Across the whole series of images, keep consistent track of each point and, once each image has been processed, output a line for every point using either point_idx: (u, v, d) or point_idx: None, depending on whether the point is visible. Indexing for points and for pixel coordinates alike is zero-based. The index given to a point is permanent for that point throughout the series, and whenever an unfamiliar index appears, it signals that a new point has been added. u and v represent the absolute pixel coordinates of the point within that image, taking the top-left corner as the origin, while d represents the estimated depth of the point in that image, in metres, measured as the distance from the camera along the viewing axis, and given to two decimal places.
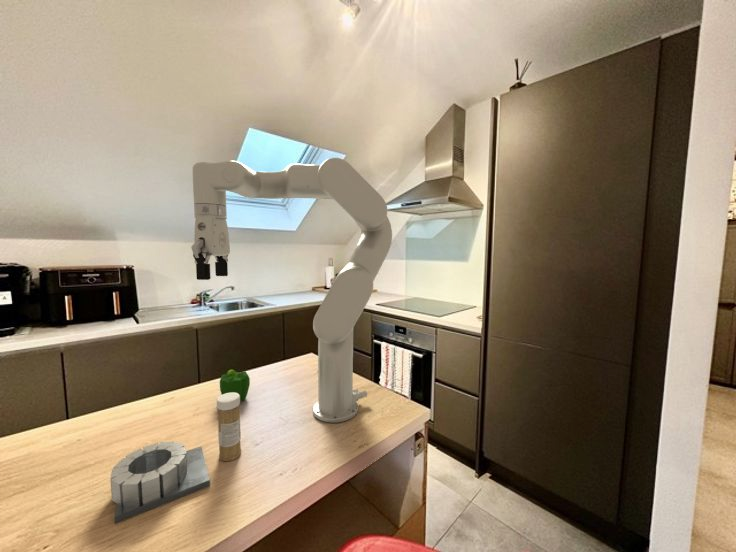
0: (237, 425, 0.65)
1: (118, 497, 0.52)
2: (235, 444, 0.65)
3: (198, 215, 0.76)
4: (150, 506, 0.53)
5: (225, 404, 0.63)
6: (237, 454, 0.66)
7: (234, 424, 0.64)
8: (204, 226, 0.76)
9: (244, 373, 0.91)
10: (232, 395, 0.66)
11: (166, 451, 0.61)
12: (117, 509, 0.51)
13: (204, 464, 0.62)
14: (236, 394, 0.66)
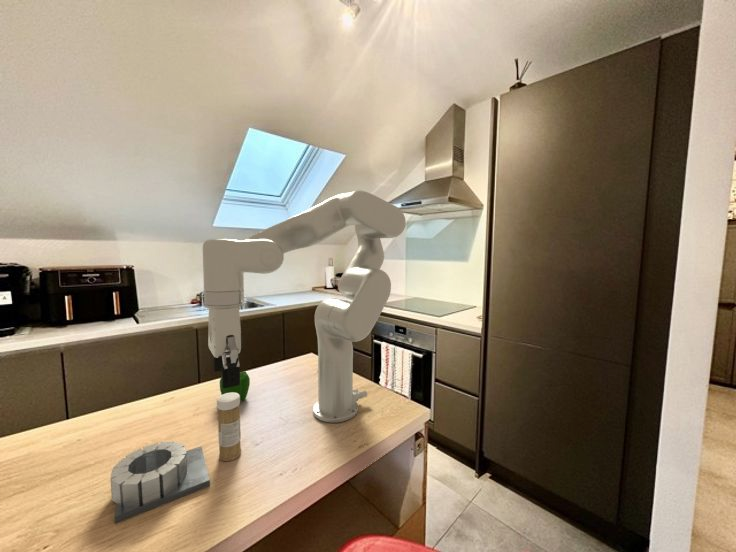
0: (237, 425, 0.65)
1: (118, 497, 0.52)
2: (235, 444, 0.65)
3: None
4: (150, 506, 0.53)
5: (225, 404, 0.63)
6: (237, 454, 0.66)
7: (234, 424, 0.64)
8: None
9: (244, 373, 0.91)
10: (232, 395, 0.66)
11: (166, 451, 0.61)
12: (117, 509, 0.51)
13: (204, 464, 0.62)
14: (236, 394, 0.66)
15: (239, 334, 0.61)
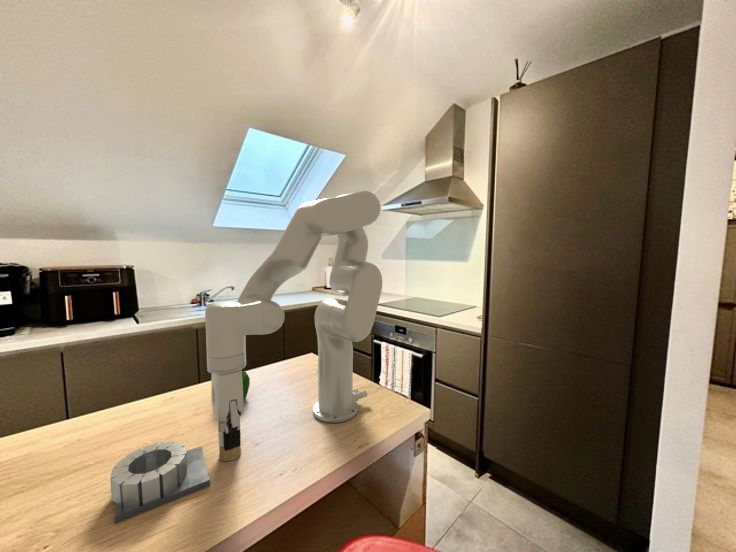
0: None
1: (118, 497, 0.52)
2: None
3: None
4: (150, 506, 0.53)
5: None
6: (237, 454, 0.66)
7: None
8: None
9: (244, 373, 0.91)
10: None
11: (166, 451, 0.61)
12: (117, 509, 0.51)
13: (204, 464, 0.62)
14: None
15: (242, 397, 0.62)
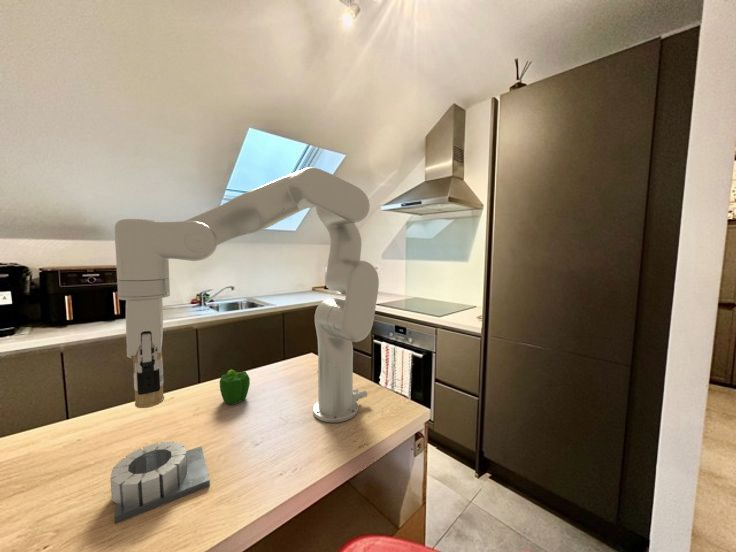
0: (157, 366, 0.55)
1: (118, 497, 0.52)
2: None
3: None
4: (150, 506, 0.53)
5: None
6: (157, 401, 0.55)
7: None
8: None
9: (244, 373, 0.91)
10: None
11: (166, 451, 0.61)
12: (117, 509, 0.51)
13: (204, 464, 0.62)
14: None
15: (158, 330, 0.52)
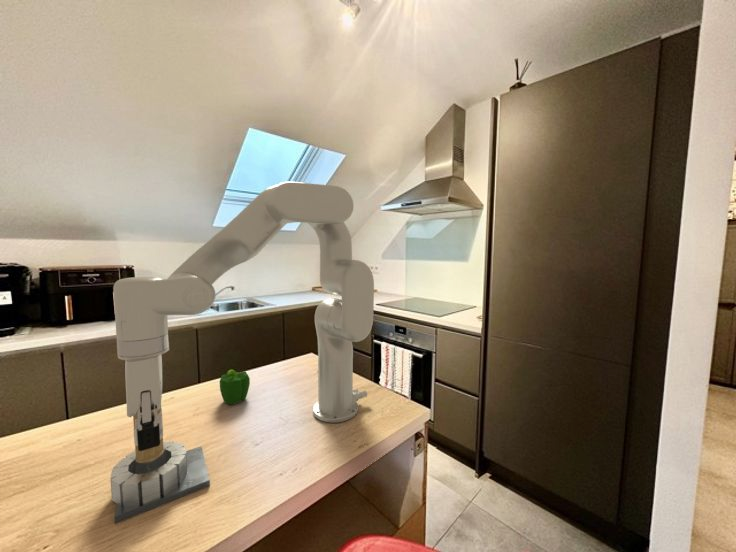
0: (157, 421, 0.56)
1: (118, 497, 0.52)
2: None
3: None
4: (150, 506, 0.53)
5: None
6: (157, 455, 0.56)
7: None
8: None
9: (244, 373, 0.91)
10: None
11: (166, 451, 0.61)
12: (117, 509, 0.51)
13: (204, 464, 0.62)
14: None
15: (158, 388, 0.53)
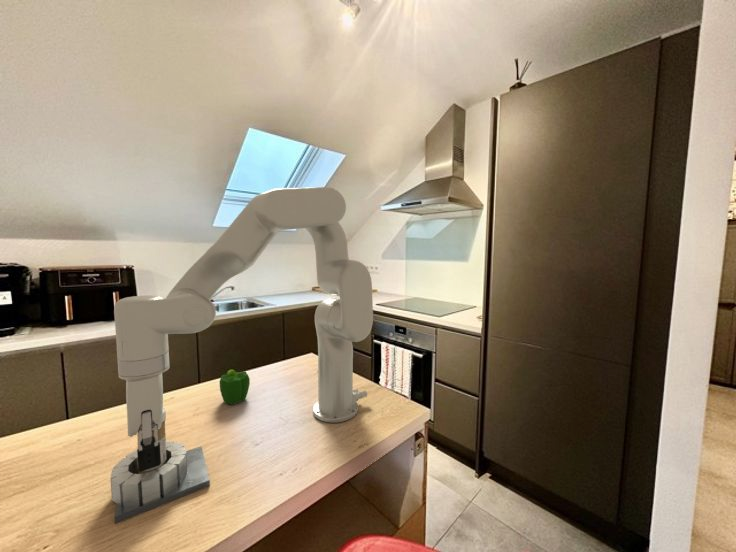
0: (161, 445, 0.57)
1: (118, 497, 0.52)
2: (157, 467, 0.56)
3: None
4: (150, 506, 0.53)
5: None
6: None
7: None
8: None
9: (244, 373, 0.91)
10: None
11: (166, 451, 0.61)
12: (117, 509, 0.51)
13: (204, 464, 0.62)
14: None
15: (158, 407, 0.53)
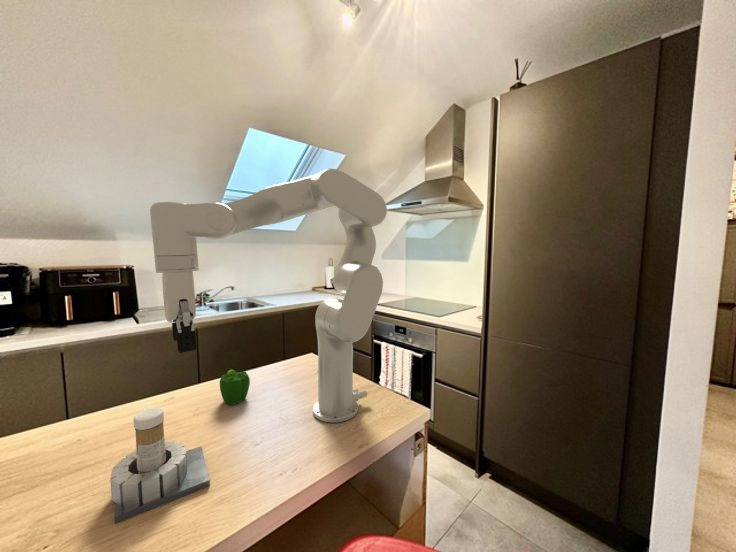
0: (159, 446, 0.56)
1: (118, 497, 0.52)
2: (156, 468, 0.56)
3: None
4: (150, 506, 0.53)
5: (141, 422, 0.54)
6: None
7: (154, 445, 0.55)
8: None
9: (244, 373, 0.91)
10: (154, 411, 0.57)
11: (166, 451, 0.61)
12: (117, 509, 0.51)
13: (204, 464, 0.62)
14: (159, 410, 0.57)
15: (193, 298, 0.60)
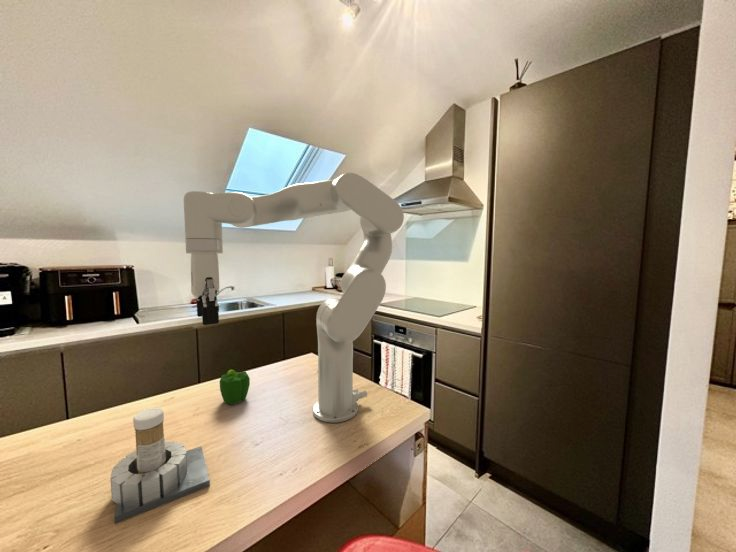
0: (159, 446, 0.56)
1: (118, 497, 0.52)
2: (156, 468, 0.56)
3: None
4: (150, 506, 0.53)
5: (141, 422, 0.54)
6: None
7: (154, 445, 0.55)
8: None
9: (244, 373, 0.91)
10: (154, 411, 0.57)
11: (166, 451, 0.61)
12: (117, 509, 0.51)
13: (204, 464, 0.62)
14: (159, 410, 0.57)
15: (217, 277, 0.68)
